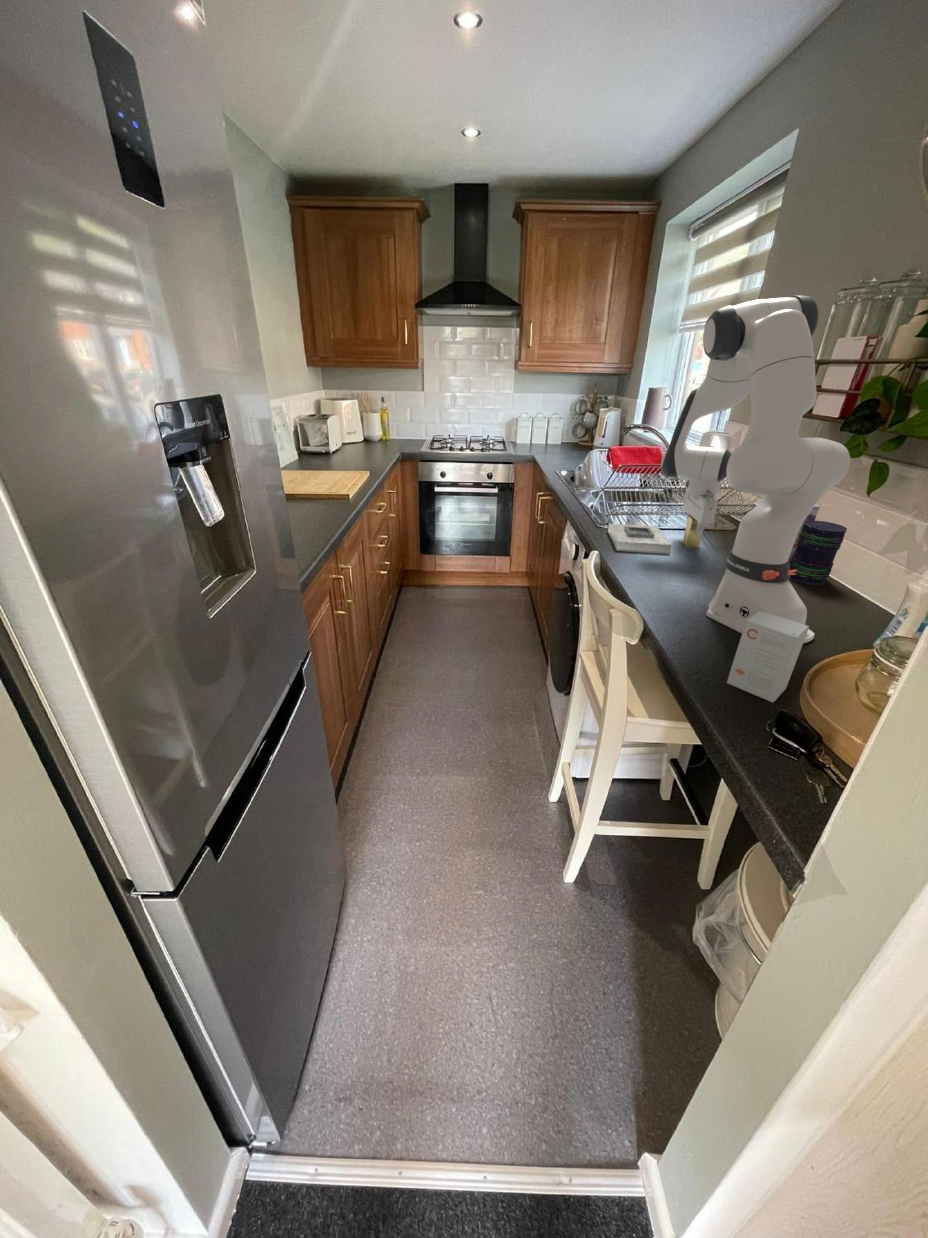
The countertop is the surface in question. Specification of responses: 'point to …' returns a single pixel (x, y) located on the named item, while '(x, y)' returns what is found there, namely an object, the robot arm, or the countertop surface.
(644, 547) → the grey socket base
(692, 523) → the yellow tall rectangular block
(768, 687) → the small box
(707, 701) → the countertop surface
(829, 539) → the storage jar
